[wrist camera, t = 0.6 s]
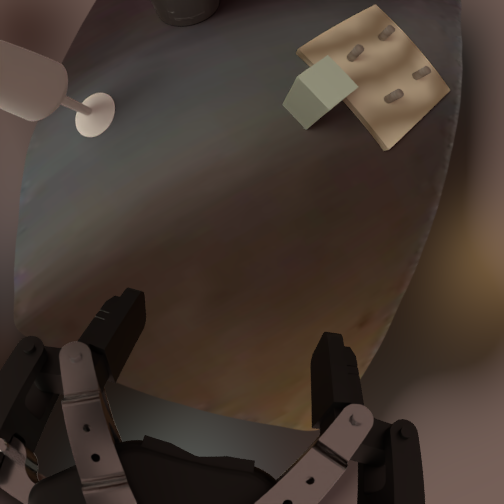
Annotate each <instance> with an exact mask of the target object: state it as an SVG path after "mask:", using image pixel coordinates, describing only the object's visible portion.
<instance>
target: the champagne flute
mask: <svg viewBox="0 0 504 504" xmlns="http://www.w3.org/2000/svg"><path fill="white" fill-rule="evenodd" d="M67 87H68V76H67V72H66V69H65V68H64V66H63V65H62V64H61V63H59V62H57V61H55V60H52V59H50V58H47V57H45V56H42V55H40V54H38V53H35V52H33V51H30V50H27V49H25V48H22V47H19V46H17V45H14V44H11V43H8V42H6V41H3V40H0V109H2V110H5V111H7V112H9V113H12V114H14V115H16V116H19V117H21V118H23V119H26V120H28V121H38V120H41V119H43V118H45V117H47V116H49V115H50V114H51V113H53V112H54V111H55V110H56V109H57V108H58V107H59V106H60V104H61V105H63V106H66V107H68V108H70V109H73V110H75V111H77V114H76V121H75V122H76V127H77V130H78V131H79V133H80V134H82V135H83V136H86V137H94V136H97V135H99V134H101V133H102V132H104V131H105V130H106V129H107V128H108V127H109V125H110V124H111V122H112V120H113V117H114V113H115V104H114V101H113V99H112V98H111V97H110V96H109V95H108V94H105V93H96V94H93V95H91V96H89V97H88V98H86V99H85V100H84V101H83V103H80V102H78V101H76V100H74V99H72V98H70V97H68V96H66V92H67Z"/></svg>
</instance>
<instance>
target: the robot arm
mask: <svg viewBox="0 0 504 504" xmlns="http://www.w3.org/2000/svg"><path fill="white" fill-rule="evenodd" d="M151 1H152V4H153V6H154V8H155V10H156V12H157V14H158V16H159V18H160V19H161V20H162V21H163V22H165V23H167V24H170V25H173V26H188V25H193V24H196V23H199V22H201V21H203V20H205V19H207V18H208V17H210V16H211V15H212V14H213V13H214V12H215V11H216V9H217V8H218V5H219V0H151ZM145 322H146V309H145V295H144V292H142V291H139V290H135V289H131V288H127V289H126V290H125V291H124V292H123V294H122V295H121V296H120V297H118V296H114V297H112V298H111V299H109V300H108V301H106V302H105V304H104V305H103V306H102V308H101V309H100V311H99V312H98V313H97V314H96V317H94V319H93V320H92V321H91V323H90V324H89V326H88V327H87V329H86V330H85V331H84V333H83V334H82V336H81V337H80V339H79V340H78V341H77V342H70V343H68V344H66V345H65V346H64V347H63V348H54V347H46V346H44V345H43V342H42V341H41V339H39V338H38V337H35V336H28V337H25V338H23V339H22V340H21V341H20V342H19V343H18V344H17V346H16V347H15V349H14V350H13V352H12V353H11V355H10V356H9V358H8V359H7V361H6V363H5V364H4V366H3V367H2V369H1V371H0V487H1V488H2V489H3V490H5V491H6V492H8V493H9V494H10V495H12V496H13V497H15V498H16V499H18V500H19V501H21V502H22V503H24V504H318V503H319V501H321V499H322V498H323V497H324V496H325V495H326V493H327V492H328V491H329V490H330V489H331V487H332V486H333V485H334V484H335V483H336V481H337V480H338V479H339V478H340V476H341V475H342V474H343V473H344V471H345V470H346V468H347V466H348V465H347V463H348V461H349V460H353V461H357V462H358V498H357V504H425V494H424V480H423V470H422V460H421V452H420V444H419V437H418V432H417V429H416V427H415V426H414V424H413V423H411V422H410V421H408V420H404V419H402V420H397V421H396V422H394V423H393V424H389V423H386V422H383V421H380V420H377V419H375V418H373V415H372V414H371V412H370V410H369V409H368V408H366V407H365V406H364V403H363V396H362V390H361V384H360V377H359V372H358V368H357V360H356V356H355V354H354V353H353V351H352V350H351V348H350V347H345V346H344V343H343V337H342V335H341V334H337V333H330V332H324V333H323V335H322V337H321V339H320V341H319V343H318V345H317V347H316V349H315V351H314V353H313V356H312V359H311V398H312V428H316V429H320V436H319V437H318V438H317V439H316V440H315V441H314V442H313V443H312V444H311V446H310V447H309V448H308V449H307V450H306V451H305V452H304V453H303V454H302V455H301V456H300V457H299V458H298V459H297V461H295V462H294V463H293V464H292V465H291V466H290V467H289V468H288V469H287V470H286V471H285V472H284V473H283V474H282V475H281V476H280V477H279V478H278V479H277V480H275V479H274V478H273V477H272V476H271V475H270V474H268V473H266V472H265V471H263V470H261V469H259V468H257V467H254V463H255V461H252V460H246V459H240V458H233V457H228V456H226V457H225V456H224V457H198V456H194V455H193V454H191V453H189V452H187V451H184V450H183V449H181V448H179V447H177V446H175V445H173V444H171V443H169V442H165V441H162V440H159V439H155V438H152V437H149V436H146V435H145V436H144V439H143V441H142V440H132V441H125V442H122V440H121V437H120V435H119V432H118V430H117V427H116V425H115V422H114V419H113V416H112V413H111V409H110V406H109V402H108V399H107V395H106V392H105V388H104V386H105V384H106V382H107V380H108V381H111V382H113V383H116V381H117V379H118V377H119V375H120V373H121V371H122V369H123V367H124V365H125V363H126V361H127V359H128V357H129V355H130V353H131V351H132V350H133V348H134V346H135V344H136V342H137V340H138V338H139V336H140V334H141V333H142V331H143V329H144V326H145ZM60 394H63V395H64V399H62V408H63V413H64V418H65V423H66V428H67V432H68V436H69V441H70V445H71V449H72V452H73V456H74V459H75V463H76V465H74V466H72V467H69V468H67V469H65V470H63V471H61V472H59V473H56V474H54V475H52V476H49V477H47V478H45V479H42V480H40V481H39V480H38V477H37V472H38V460H37V458H36V456H35V454H34V451H35V449H36V446H37V444H38V441H39V439H40V437H41V434H42V432H43V430H44V427H45V425H46V423H47V420H48V418H49V416H50V414H51V412H52V410H53V408H54V405H55V403H56V401H57V399H58V397H59V395H60Z"/></svg>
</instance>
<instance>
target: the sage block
mask: <svg viewBox="0 0 504 504" xmlns="http://www.w3.org/2000/svg"><path fill="white" fill-rule="evenodd" d="M357 88H358V86H357V85H356V84H355V82H354V81H353V80H352V79H351V78H350V77H349V76H348V75H347V74H346V73H345V72H344V71H343V70H342V69H341V68H340V67H339V66H338V65H337V64H336V63H335V62H334V61H333V60H332V59H331V58H330V57H329V56H328V55H327V56H326V57H324V58H323V59H321V60H320V61H318V62H317V63H316V64H314V65H313V66H311V67H310V68H308V69H307V70H306V71H304V72H303V73H301V74H300V75H299V76H297V78H296V79H295V81H294V83H293V85H292V87H291V89H290V91H289V93H288V95H287V97H286V98H285V100H284V102H283V104H282V105H283V106H284V107H285V108H286V109H287V110H288V111H289V112H290V113H291V114H292V115H293V116H294V118H295V119H296V120H297V121H298V122H299V123H300V124H301V125H302V126H303V127H304V128H305V129H306V130H307V129H308V128H309V127H310V126H312V125H313V124H314V123H315V122H316V121H318V120H319V119H320V118H321V117H322V116H324V115H325V114H326V113H327V112H329V111H330V110H331V109H332V108H333V107H335V106H336V105H337V104H338V103H339V102H341V101H342V100H343V99H344V98H346V97H347V96H348V95H349V94H351V93H352V92H353V91H354V90H355V89H357Z"/></svg>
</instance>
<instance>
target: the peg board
mask: <svg viewBox="0 0 504 504" xmlns="http://www.w3.org/2000/svg"><path fill="white" fill-rule="evenodd" d="M296 54H297V55H298V56H299V57H300V58H301V59H302V60H303V61H304V62H305V63H306V64H307V65H309V66H310V67H311V66H313V65H314V64H316V63H317V62H318V61H320V60H321V59H323V58H324V57H326V56H327V55H328V56H329V57H330V58H331V59H332V60H333V61H334V62H335V63H336V64H337V65H338V66H339V67H340V68H341V69H342V70H343V71H344V72H345V73H346V74H347V75H348V76H349V77H350V78H351V79H352V80H353V81H354V82H355V84H356V85H357V86H358V88H357V89H355V90H354V91H353V92H352V93H351V94H349V95H348V96H347V97H346V98H344V99H343V100H342V101H343V102H344V103H345V104H346V105H347V106H348V107H349V109H350V110H351V111H352V112H353V113H354V114H355V116H356V117H357V118H358V119H359V120H360V121H361V123H362V124H363V125H364V126H365V128H366V129H367V130H368V131H369V132H370V134H371V135H372V136H373V138H374V139H375V140H376V141H377V143H378V144H379V145H380V147H381V148H382V149H383V151H386V150H389V149H390V148H391V147H392V146H394V145H395V144H396V143H397V142H398V141H399V140H400V139H401V138H402V137H403V136H404V135H405V134H406V133H407V132H408V131H409V130H410V129H411V128H412V127H413V126H414V125H415V124H416V123H417V122H418V121H419V120H421V119H422V118H423V117H424V116H425V115H426V114H427V113H428V112H429V111H430V110H431V109H432V108H433V107H434V106H435V105H436V104H437V103H438V102H439V101H440V100H441V99H442V98H443V97H444V96H445V95H446V94H447V93H448V92H449V91H450V89H449V88H448V86H447V85H446V83H445V82H444V81H443V79H442V78H441V76H440V75H439V74H438V72H437V71H436V70H435V68H434V67H433V66H432V65H431V63H430V62H429V61H428V60H427V58H426V57H425V56H424V55H423V54H422V52H421V51H420V50H419V49H418V48H417V46H416V45H415V44H414V43H413V42H412V41H411V40H410V39H409V37H408V36H407V35H406V34H405V33H404V32H403V31H402V30H401V29H400V28H399V27H398V26H397V25H396V24H395V23H394V22H393V21H392V20H391V19H390V18H389V17H388V16H387V15H386V14H385V13H384V12H383V11H382V10H381V9H380V8H379V7H378V6H377V5H373V6H371V7H369V8H367V9H365V10H363V11H362V12H360V13H358V14H356V15H354V16H352V17H350V18H348V19H347V20H345V21H343V22H341V23H339V24H338V25H336V26H334V27H332V28H331V29H329V30H327V31H326V32H324V33H322V34H321V35H319V36H317V37H316V38H314V39H313V40H311V41H309V42H308V43H306V44H305V45H303V46H302V47H300V48H299V49H298V50H297V52H296Z"/></svg>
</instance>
